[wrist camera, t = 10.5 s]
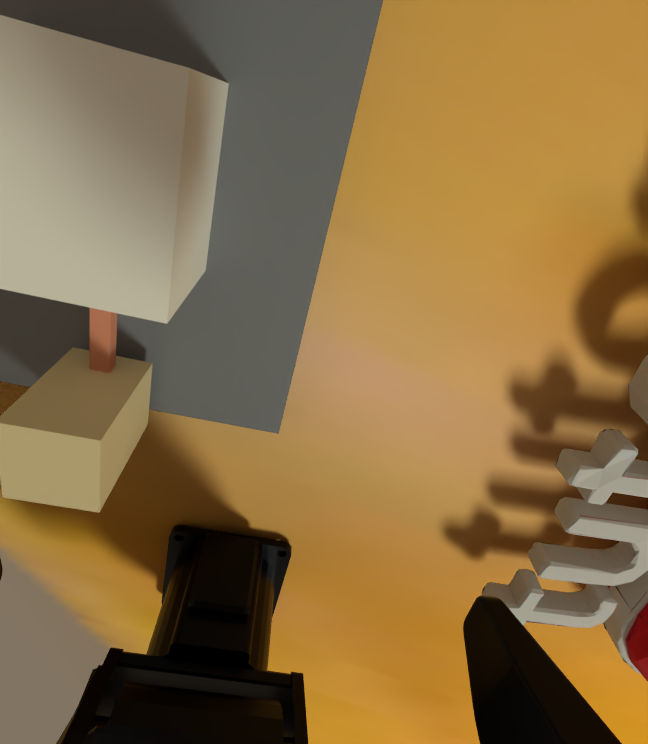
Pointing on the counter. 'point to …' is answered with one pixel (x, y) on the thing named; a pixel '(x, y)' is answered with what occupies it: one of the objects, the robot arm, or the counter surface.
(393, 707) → the counter surface
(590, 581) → the word lettering
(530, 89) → the counter surface
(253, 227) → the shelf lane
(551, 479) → the counter surface
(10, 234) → the rod-linked cube pair
